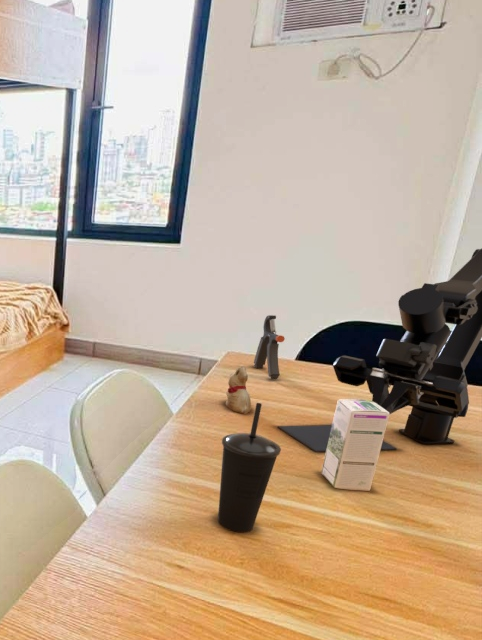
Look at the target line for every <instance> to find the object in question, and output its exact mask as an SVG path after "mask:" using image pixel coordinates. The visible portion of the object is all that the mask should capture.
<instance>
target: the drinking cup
mask: <svg viewBox="0 0 482 640" xmlns="http://www.w3.org/2000/svg"><path fill="white" fill-rule="evenodd" d="M262 405H263V403H261V402H257V403H256V404H255V409H254V412H253V413H254V414H253V417H252V418H253V419H252V424H251V428H250V433H249V432H240V433H231V434H227V435H225V436H223V437H222V439H221V444H222V446H223V448H222V460H221V472H220V473H221V474H220V487H219V500H218V513H217V514H218V515H217V521H218V525H220V526H221V527H222V528H224V529H226V530H228V531H231V532H234V533H250V532H251V531H252V530H253V528H254V526H255V523H256V520H257V517H258V514H259V511H260V508H261V505H262V502H263V498H264V496H265V493H266V490H267V487H268V484H269V481H270V478H271V475H272V473H273V469H274V466H275V464H276V460H277V457H279V455H280V454H281V450H282V449H281V447H280V445H279V444H278V443H277V442H275V441H273V440H271V439H268V438H267V437H265V436H262V435H259V434H257V429H258V425H259V420H260V416H261V410H262Z"/></svg>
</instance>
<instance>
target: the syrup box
mask: <svg viewBox="0 0 482 640" xmlns="http://www.w3.org/2000/svg"><path fill="white" fill-rule="evenodd" d="M389 414H390V413H389V412H388V411H386V410H385V409H384V408H382V407H381V406H379V405H378V404H376V403H375V402H374V401H372V400H371V399H370V400H369V399H359V398H343V399H340V398H339V399H337V402H336V406H335V411H334V415H333V418H332V423H331V425H332V427H331V432H330V436H329V441H328V445H327V449H326V452H325V454H324V459H323V463H322V467H321V471H320V474H321V475H322V476H323V477H324V478H325V479H326V480H327V482H328V483H329V484H330V485H331V486H332V487H333V488H335V489H340V490H351V491H364V492H365V491H368V492H370V491H371V488H372V484H373V480H374V476H375V473H376V469H377V465H378V461H379V457H380V453H381V451H382V450H381V446H382V442H383V441H384V437H385V434H386V429H387V425H388V423H389V417H390V415H391V414H390V415H389Z"/></svg>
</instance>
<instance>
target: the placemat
mask: <svg viewBox="0 0 482 640" xmlns="http://www.w3.org/2000/svg"><path fill="white" fill-rule="evenodd" d="M331 427H332V424H315V425H313V424H311V425H277V429H279V430H280V431H282V432H284V433H285V434H287V435H288V436H290V437H291V438H293V439H295V440H296V441H298V443H300V444H302V445H304V446H305V447H307V448H309V449H310V450H312V451H313V452H314V453H326V449H327V445H328V441H329V436H330V432H331ZM380 451H397V447H395V446H393V445H391V444H389V443H388V442H386V441H384V440H383V442H382V446H381V450H380Z"/></svg>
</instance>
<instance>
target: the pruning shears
mask: <svg viewBox="0 0 482 640" xmlns="http://www.w3.org/2000/svg"><path fill="white" fill-rule="evenodd" d="M276 318H277V315H273V314H271V315H270V314H269V315H266V317H265V318H264V322H263V335H262V336H261V337H260V338H259V339H260V340H259V343H258V346H257V349H256V352H255V356H254V360H253V364H254V368H256V369H263V368H264V366H265V365H266V363H267V373H268V377H270V380H278V378H280V375H281V374H280V366H279V347H280V344H279V343H283V342H284V341H285V336H284V335H281V334H277V331H276V323H275V320H276Z"/></svg>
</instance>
